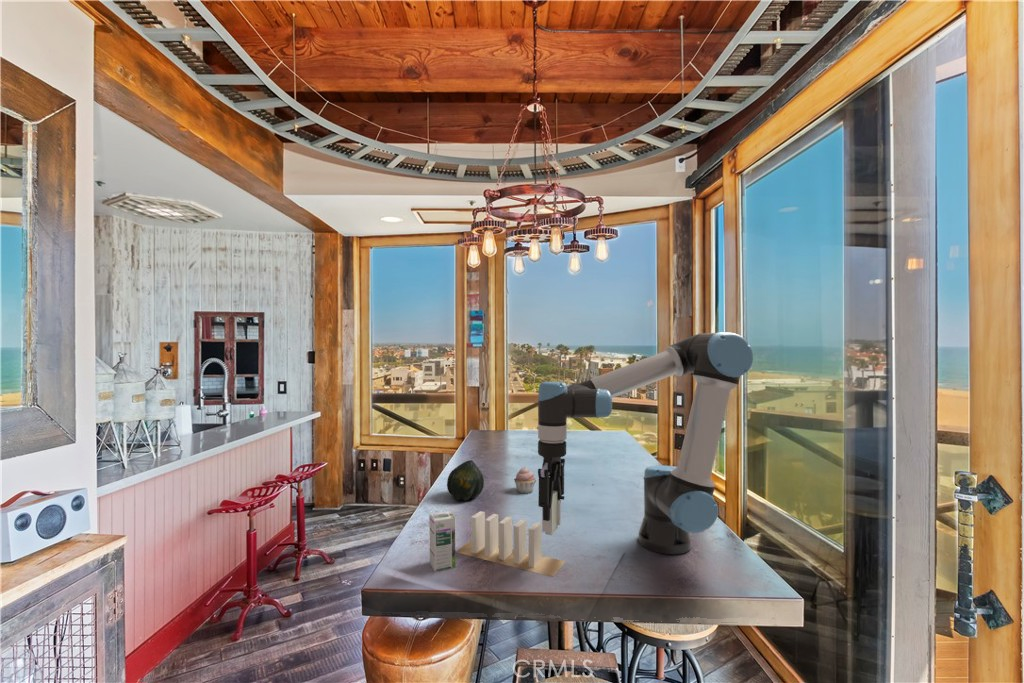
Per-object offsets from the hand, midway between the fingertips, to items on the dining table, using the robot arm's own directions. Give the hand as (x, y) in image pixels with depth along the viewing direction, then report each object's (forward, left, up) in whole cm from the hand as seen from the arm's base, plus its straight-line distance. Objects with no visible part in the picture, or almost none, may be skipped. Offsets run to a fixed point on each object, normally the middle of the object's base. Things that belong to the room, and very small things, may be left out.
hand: (551, 527), depth 119 cm
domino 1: (+23, 0, -10) cm, 25 cm away
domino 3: (+14, 0, -11) cm, 17 cm away
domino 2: (+18, 0, -10) cm, 21 cm away
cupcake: (+34, -55, -12) cm, 66 cm away
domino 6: (0, 0, -1) cm, 1 cm away
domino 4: (+9, 0, -11) cm, 14 cm away
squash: (+52, -38, -12) cm, 65 cm away
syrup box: (+27, +12, -12) cm, 32 cm away
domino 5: (+5, 0, -11) cm, 12 cm away
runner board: (+13, 0, -12) cm, 17 cm away
